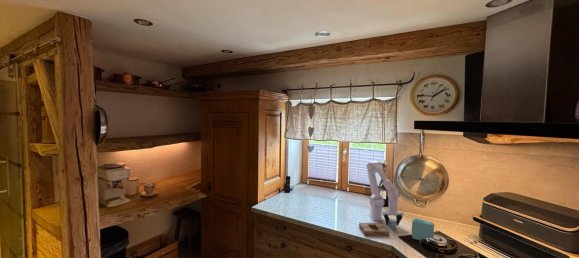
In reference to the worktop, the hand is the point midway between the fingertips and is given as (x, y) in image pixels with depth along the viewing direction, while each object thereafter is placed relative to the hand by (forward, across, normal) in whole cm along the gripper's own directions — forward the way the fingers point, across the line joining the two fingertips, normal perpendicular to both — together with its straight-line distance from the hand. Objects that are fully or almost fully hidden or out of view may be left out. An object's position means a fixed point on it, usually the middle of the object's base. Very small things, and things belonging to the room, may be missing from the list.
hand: (392, 225), depth 165 cm
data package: (+2, +12, -16) cm, 20 cm away
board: (+1, -16, -6) cm, 17 cm away
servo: (+2, 0, 0) cm, 2 cm away
